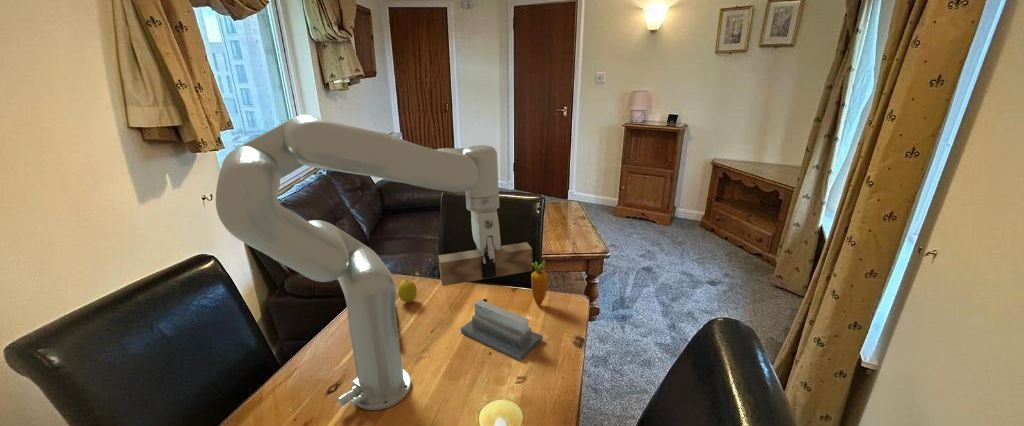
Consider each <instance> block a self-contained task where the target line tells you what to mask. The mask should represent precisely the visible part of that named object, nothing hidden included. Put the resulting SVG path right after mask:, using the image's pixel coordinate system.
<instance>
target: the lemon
mask: <svg viewBox="0 0 1024 426" xmlns="http://www.w3.org/2000/svg"><path fill="white" fill-rule="evenodd" d="M397 292H398V293H397V294H398V298H399V299H400V300H401V301H402V302H404V303H408V304H410V303H411V302H412V301H414V300H415V299H416V297H417V294H418V290H417V286H416V283H415V282H414V281H413V280H410V279H404V280H402V281H401V282H400V283H399V284H398V288H397Z"/></svg>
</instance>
